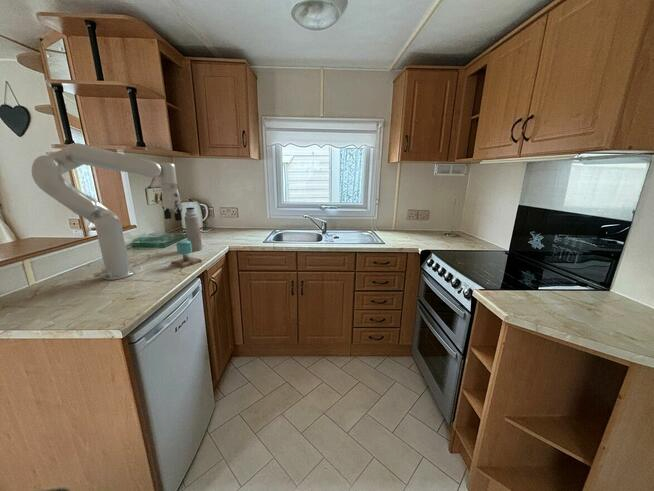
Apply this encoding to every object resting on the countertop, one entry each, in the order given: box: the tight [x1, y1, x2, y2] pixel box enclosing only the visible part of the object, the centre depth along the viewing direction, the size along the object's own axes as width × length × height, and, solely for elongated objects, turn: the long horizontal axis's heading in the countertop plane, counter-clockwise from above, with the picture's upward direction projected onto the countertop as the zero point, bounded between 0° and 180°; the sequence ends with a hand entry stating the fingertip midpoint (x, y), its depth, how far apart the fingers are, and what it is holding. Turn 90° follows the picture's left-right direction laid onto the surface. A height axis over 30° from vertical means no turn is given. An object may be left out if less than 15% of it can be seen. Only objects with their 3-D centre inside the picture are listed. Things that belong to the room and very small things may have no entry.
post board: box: [170, 256, 202, 269], centre depth 150 cm, size 11×11×2 cm
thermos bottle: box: [184, 207, 203, 252], centre depth 173 cm, size 8×8×28 cm
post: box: [181, 253, 190, 261], centre depth 149 cm, size 3×3×10 cm
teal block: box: [175, 240, 193, 255], centre depth 148 cm, size 7×7×6 cm
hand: (173, 219), depth 144 cm, fingers open, 9 cm apart
